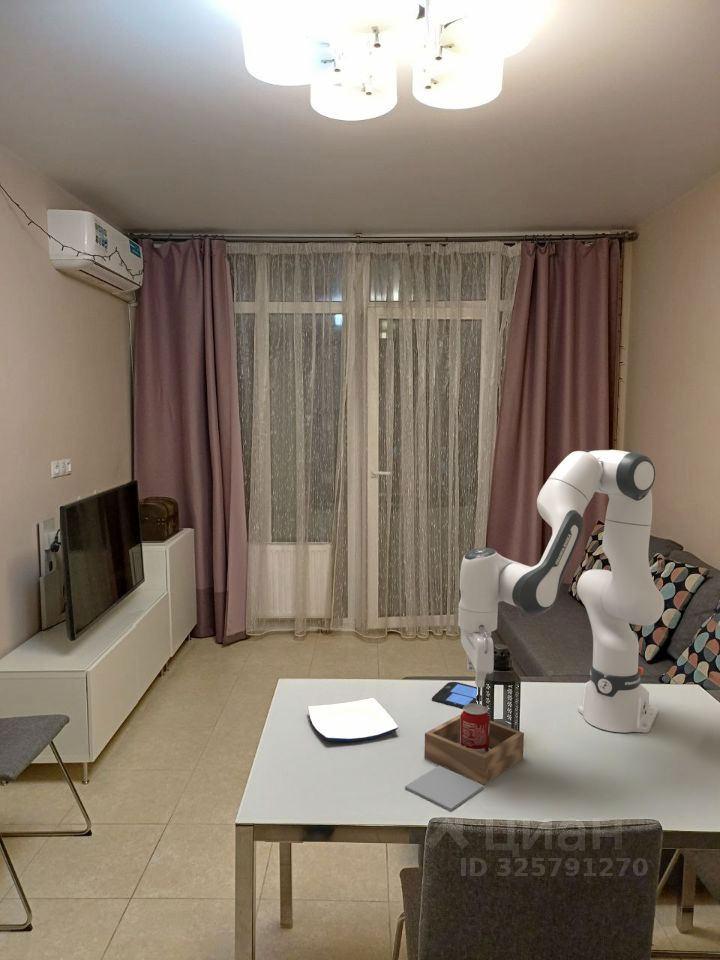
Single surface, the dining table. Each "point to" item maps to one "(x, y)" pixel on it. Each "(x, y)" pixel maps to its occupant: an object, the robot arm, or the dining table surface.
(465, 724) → the soda can
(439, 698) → the game console
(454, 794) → the mat
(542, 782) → the dining table surface
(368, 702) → the plate
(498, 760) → the box
